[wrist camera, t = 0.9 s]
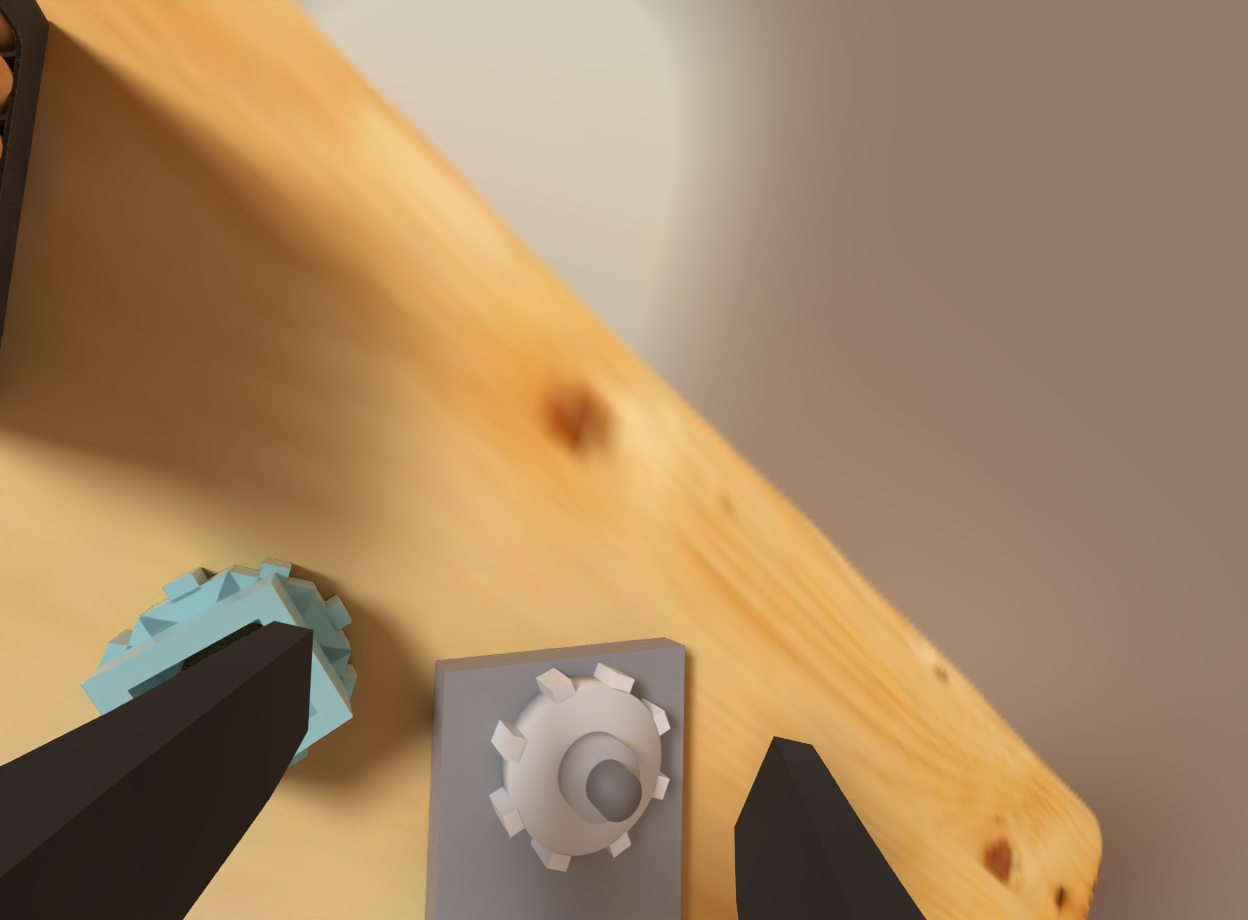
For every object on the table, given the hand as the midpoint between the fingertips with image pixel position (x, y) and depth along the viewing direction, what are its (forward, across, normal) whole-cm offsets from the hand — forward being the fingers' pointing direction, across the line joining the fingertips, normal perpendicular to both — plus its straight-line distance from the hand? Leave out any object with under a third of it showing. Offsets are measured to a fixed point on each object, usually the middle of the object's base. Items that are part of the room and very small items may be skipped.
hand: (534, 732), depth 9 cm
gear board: (+7, -2, +16) cm, 18 cm away
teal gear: (+7, +9, +7) cm, 13 cm away
